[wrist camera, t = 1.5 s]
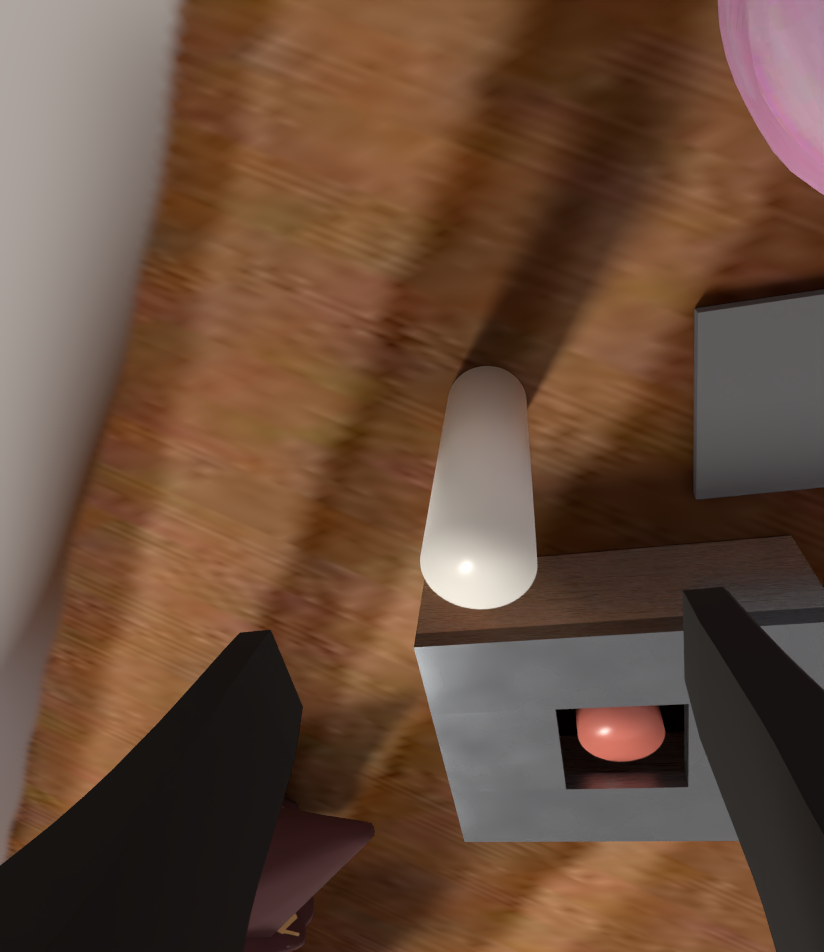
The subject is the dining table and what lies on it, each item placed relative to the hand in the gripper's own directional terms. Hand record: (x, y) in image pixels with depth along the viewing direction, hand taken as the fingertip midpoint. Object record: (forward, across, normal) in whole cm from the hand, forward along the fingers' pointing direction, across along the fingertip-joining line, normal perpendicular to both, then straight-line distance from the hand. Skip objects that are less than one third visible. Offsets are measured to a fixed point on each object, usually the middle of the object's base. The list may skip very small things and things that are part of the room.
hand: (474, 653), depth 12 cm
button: (+9, -3, +11) cm, 14 cm away
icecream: (+11, +13, +19) cm, 26 cm away
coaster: (+10, -9, +1) cm, 14 cm away
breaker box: (+10, -3, +11) cm, 15 cm away
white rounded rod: (+10, 0, 0) cm, 10 cm away
